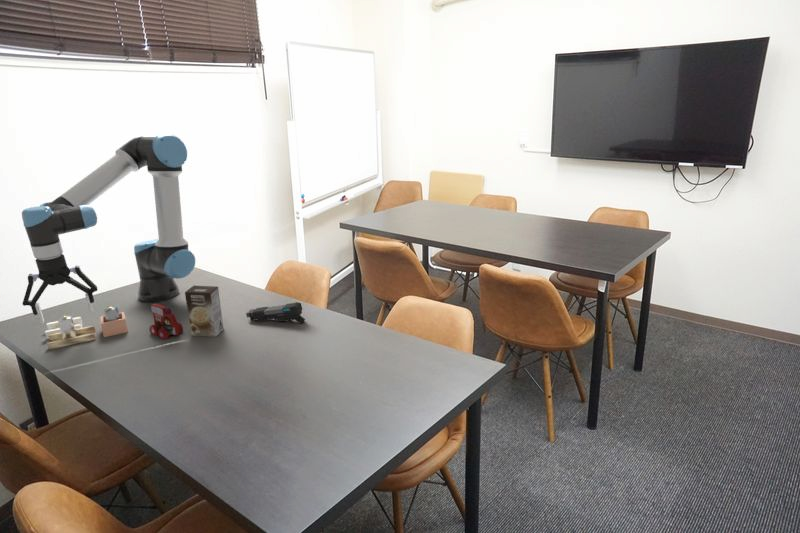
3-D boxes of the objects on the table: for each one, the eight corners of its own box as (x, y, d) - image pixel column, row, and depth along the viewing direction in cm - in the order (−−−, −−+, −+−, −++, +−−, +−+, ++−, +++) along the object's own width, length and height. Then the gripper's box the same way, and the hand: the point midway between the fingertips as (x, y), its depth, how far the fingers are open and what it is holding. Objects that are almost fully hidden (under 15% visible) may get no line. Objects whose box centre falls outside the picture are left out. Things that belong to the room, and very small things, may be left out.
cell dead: (123, 327, 170) (117, 304, 168) (120, 331, 167) (115, 308, 164) (110, 329, 169) (105, 306, 167) (107, 333, 166) (101, 310, 163)
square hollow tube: (127, 325, 173) (123, 311, 171) (128, 333, 167) (125, 318, 165) (103, 330, 169) (100, 316, 168) (104, 338, 163) (100, 323, 162)
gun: (303, 324, 171) (292, 299, 168) (256, 338, 176) (244, 314, 174) (308, 319, 175) (297, 294, 173) (261, 332, 180) (250, 309, 178)
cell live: (77, 336, 164) (71, 313, 161) (77, 340, 161) (71, 317, 158) (63, 339, 162) (57, 315, 159) (63, 344, 159) (56, 320, 156)
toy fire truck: (169, 343, 160) (163, 314, 157) (147, 334, 166) (142, 306, 163) (187, 335, 165) (183, 306, 162) (166, 326, 172) (161, 299, 168)
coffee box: (190, 336, 164) (183, 292, 159) (199, 328, 170) (192, 285, 165) (216, 337, 163) (209, 292, 158) (224, 328, 169) (218, 285, 164)
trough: (95, 332, 168) (94, 325, 167) (96, 340, 162) (94, 333, 161) (50, 341, 162) (48, 334, 161) (49, 351, 156) (47, 343, 155)
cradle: (82, 324, 175) (80, 316, 174) (82, 333, 168) (80, 325, 167) (48, 330, 170) (46, 323, 169) (47, 340, 163) (45, 332, 162)
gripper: (95, 245, 161) (110, 304, 169) (1, 261, 149) (22, 323, 157) (95, 251, 155) (111, 311, 163) (-2, 267, 143) (19, 332, 151)
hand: (67, 317), depth 160 cm, fingers open, 13 cm apart
